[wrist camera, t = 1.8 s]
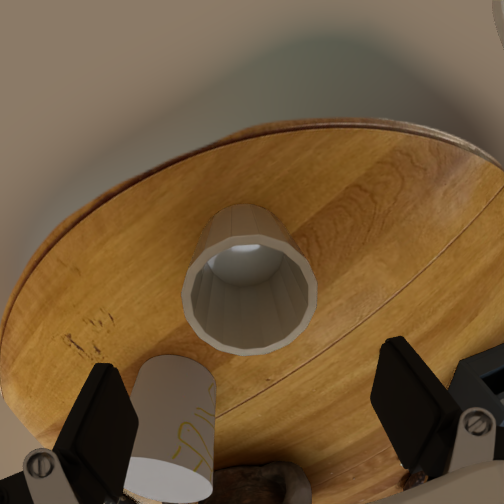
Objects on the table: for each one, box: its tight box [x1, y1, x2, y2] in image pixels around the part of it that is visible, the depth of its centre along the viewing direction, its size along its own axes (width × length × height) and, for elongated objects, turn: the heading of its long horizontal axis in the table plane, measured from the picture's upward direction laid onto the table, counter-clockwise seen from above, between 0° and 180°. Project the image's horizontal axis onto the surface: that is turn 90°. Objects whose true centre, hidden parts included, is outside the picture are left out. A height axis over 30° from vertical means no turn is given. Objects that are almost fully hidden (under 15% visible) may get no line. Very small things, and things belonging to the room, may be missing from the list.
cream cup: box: [181, 204, 318, 356], centre depth 20 cm, size 7×7×9 cm
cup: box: [124, 355, 216, 503], centre depth 22 cm, size 8×8×12 cm
